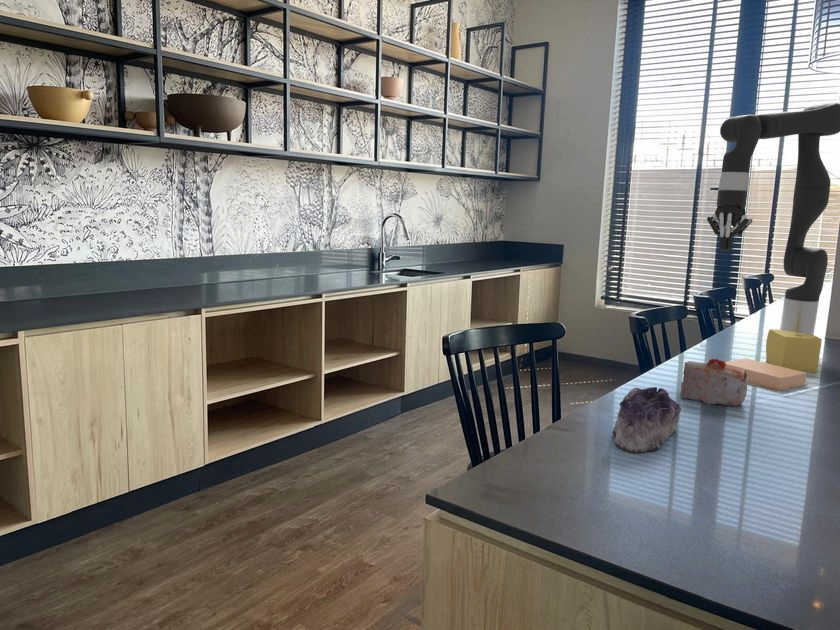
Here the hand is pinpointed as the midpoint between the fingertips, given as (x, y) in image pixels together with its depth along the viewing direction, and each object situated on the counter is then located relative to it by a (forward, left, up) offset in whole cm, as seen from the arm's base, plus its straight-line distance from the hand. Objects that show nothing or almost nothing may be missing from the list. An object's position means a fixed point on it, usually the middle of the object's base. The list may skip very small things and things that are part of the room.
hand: (725, 250), depth 183 cm
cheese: (-8, +19, -32) cm, 38 cm away
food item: (+45, +15, -32) cm, 57 cm away
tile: (+14, +10, -30) cm, 34 cm away
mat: (+15, +14, -32) cm, 38 cm away
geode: (+80, +14, -32) cm, 88 cm away
